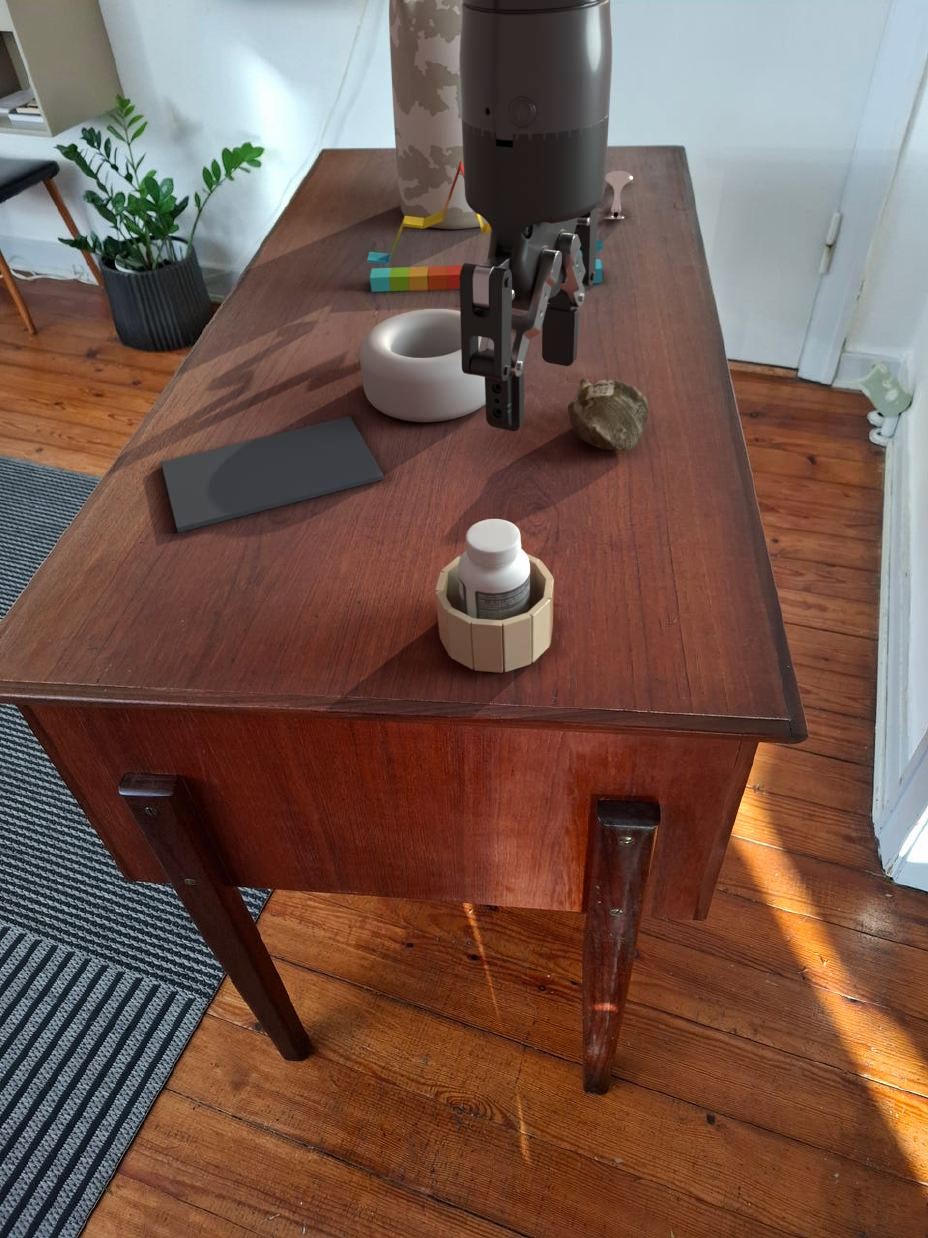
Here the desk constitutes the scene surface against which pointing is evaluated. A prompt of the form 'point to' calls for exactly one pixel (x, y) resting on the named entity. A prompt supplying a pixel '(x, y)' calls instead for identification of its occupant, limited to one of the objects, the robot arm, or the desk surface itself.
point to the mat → (267, 473)
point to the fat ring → (419, 368)
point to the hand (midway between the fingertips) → (533, 392)
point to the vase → (428, 109)
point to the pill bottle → (494, 572)
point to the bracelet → (495, 624)
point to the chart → (435, 274)
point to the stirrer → (617, 191)
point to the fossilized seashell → (609, 414)
